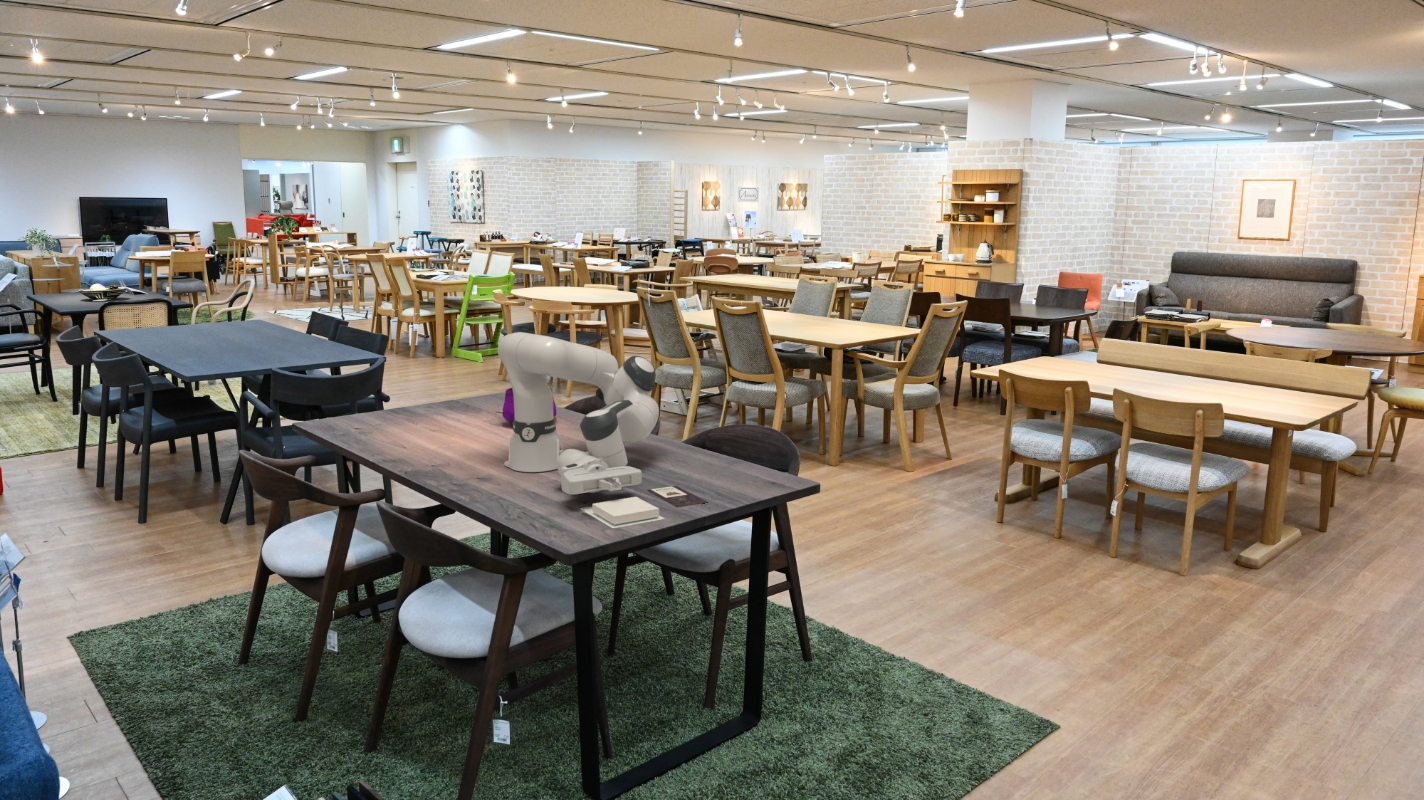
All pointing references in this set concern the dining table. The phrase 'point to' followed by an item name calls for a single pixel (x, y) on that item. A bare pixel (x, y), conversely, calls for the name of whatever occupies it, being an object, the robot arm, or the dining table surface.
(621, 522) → the tile
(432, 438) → the dining table surface
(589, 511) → the mat
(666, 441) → the dining table surface
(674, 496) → the chocolate bar
